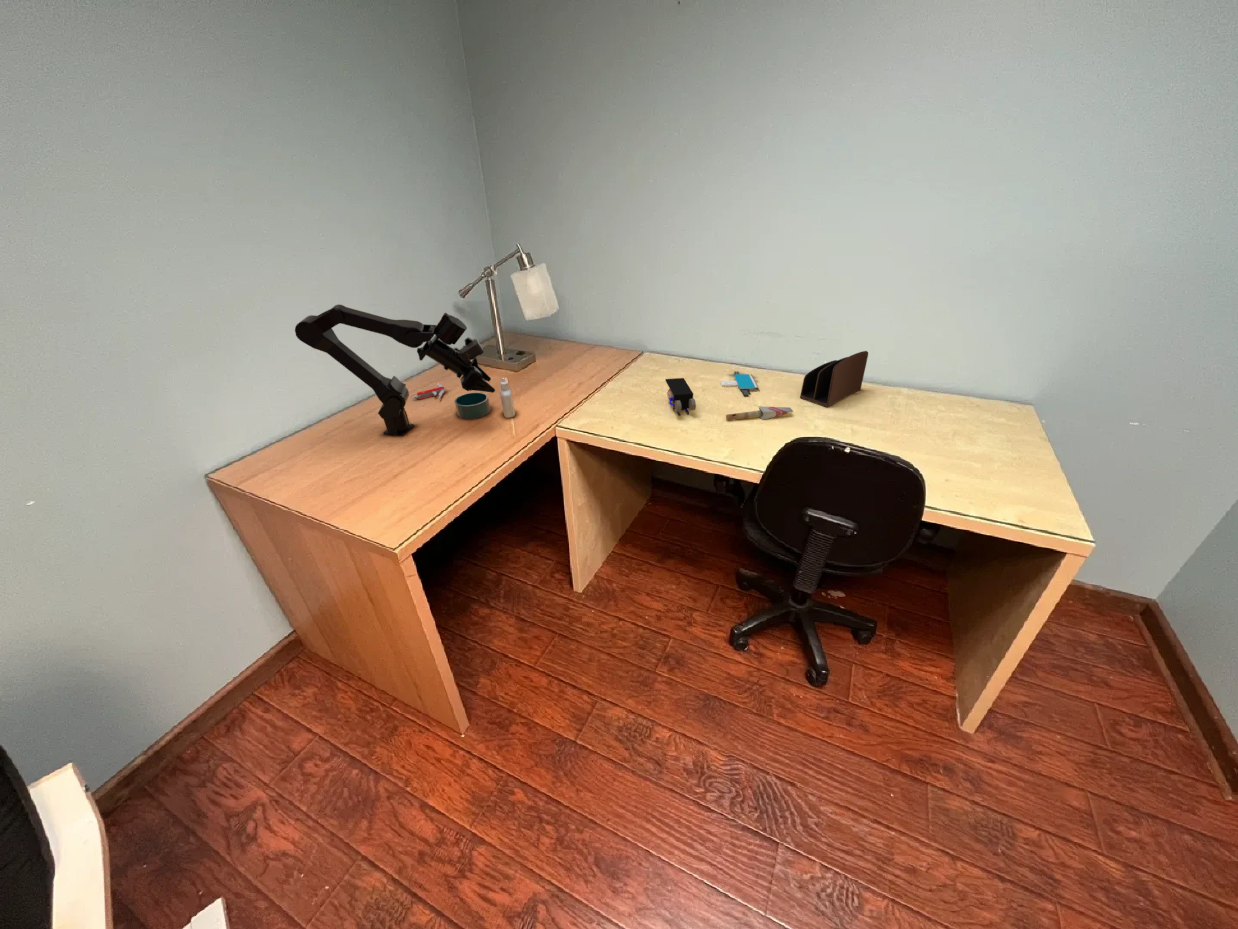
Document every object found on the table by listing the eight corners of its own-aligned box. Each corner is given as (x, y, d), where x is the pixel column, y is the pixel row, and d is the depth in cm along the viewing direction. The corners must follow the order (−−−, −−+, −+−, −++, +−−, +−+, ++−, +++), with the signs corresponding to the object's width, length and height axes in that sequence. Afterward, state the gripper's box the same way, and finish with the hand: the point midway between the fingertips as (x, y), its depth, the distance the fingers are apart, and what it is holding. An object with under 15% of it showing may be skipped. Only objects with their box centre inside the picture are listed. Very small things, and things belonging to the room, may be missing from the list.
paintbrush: (795, 407, 144) (728, 416, 143) (794, 416, 146) (728, 424, 145) (789, 402, 148) (724, 410, 146) (788, 410, 149) (724, 418, 148)
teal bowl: (481, 420, 151) (479, 407, 149) (451, 418, 153) (448, 404, 151) (495, 405, 159) (493, 393, 157) (466, 404, 161) (464, 391, 159)
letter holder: (860, 389, 161) (871, 348, 153) (827, 408, 150) (837, 364, 143) (832, 381, 167) (841, 340, 160) (799, 398, 157) (806, 355, 150)
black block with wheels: (696, 420, 149) (682, 395, 161) (698, 399, 144) (684, 375, 156) (675, 423, 148) (662, 397, 160) (676, 401, 144) (663, 377, 155)
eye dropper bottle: (519, 410, 156) (513, 375, 149) (512, 418, 151) (506, 382, 145) (506, 410, 157) (499, 374, 150) (499, 418, 152) (492, 381, 146)
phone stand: (717, 373, 176) (717, 369, 176) (750, 372, 176) (751, 368, 175) (725, 397, 160) (726, 392, 159) (762, 396, 159) (763, 391, 158)
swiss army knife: (417, 407, 160) (415, 402, 159) (407, 393, 170) (405, 388, 169) (451, 398, 165) (450, 393, 164) (440, 385, 175) (438, 380, 174)
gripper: (465, 342, 129) (513, 375, 138) (459, 323, 144) (503, 354, 153) (441, 375, 132) (490, 405, 140) (438, 353, 146) (482, 382, 155)
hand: (492, 385), depth 147 cm, fingers open, 9 cm apart
